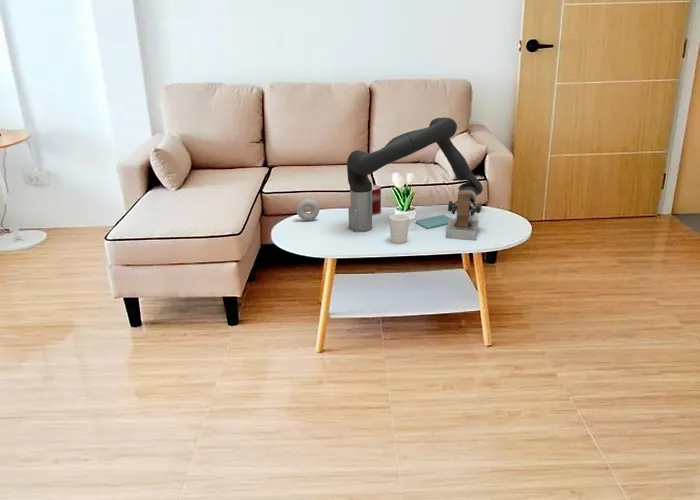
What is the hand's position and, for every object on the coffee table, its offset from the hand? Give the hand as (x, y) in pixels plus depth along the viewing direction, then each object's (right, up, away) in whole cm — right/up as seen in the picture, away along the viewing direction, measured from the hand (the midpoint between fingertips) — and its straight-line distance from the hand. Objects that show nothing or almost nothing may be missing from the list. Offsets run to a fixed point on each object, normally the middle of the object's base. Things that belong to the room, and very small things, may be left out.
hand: (462, 212), depth 254 cm
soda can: (-35, +2, +33) cm, 48 cm away
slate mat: (-8, -3, +19) cm, 21 cm away
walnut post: (+1, -8, +6) cm, 10 cm away
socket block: (+1, -8, +6) cm, 10 cm away
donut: (-64, -2, +25) cm, 69 cm away
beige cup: (-26, -11, +1) cm, 28 cm away
